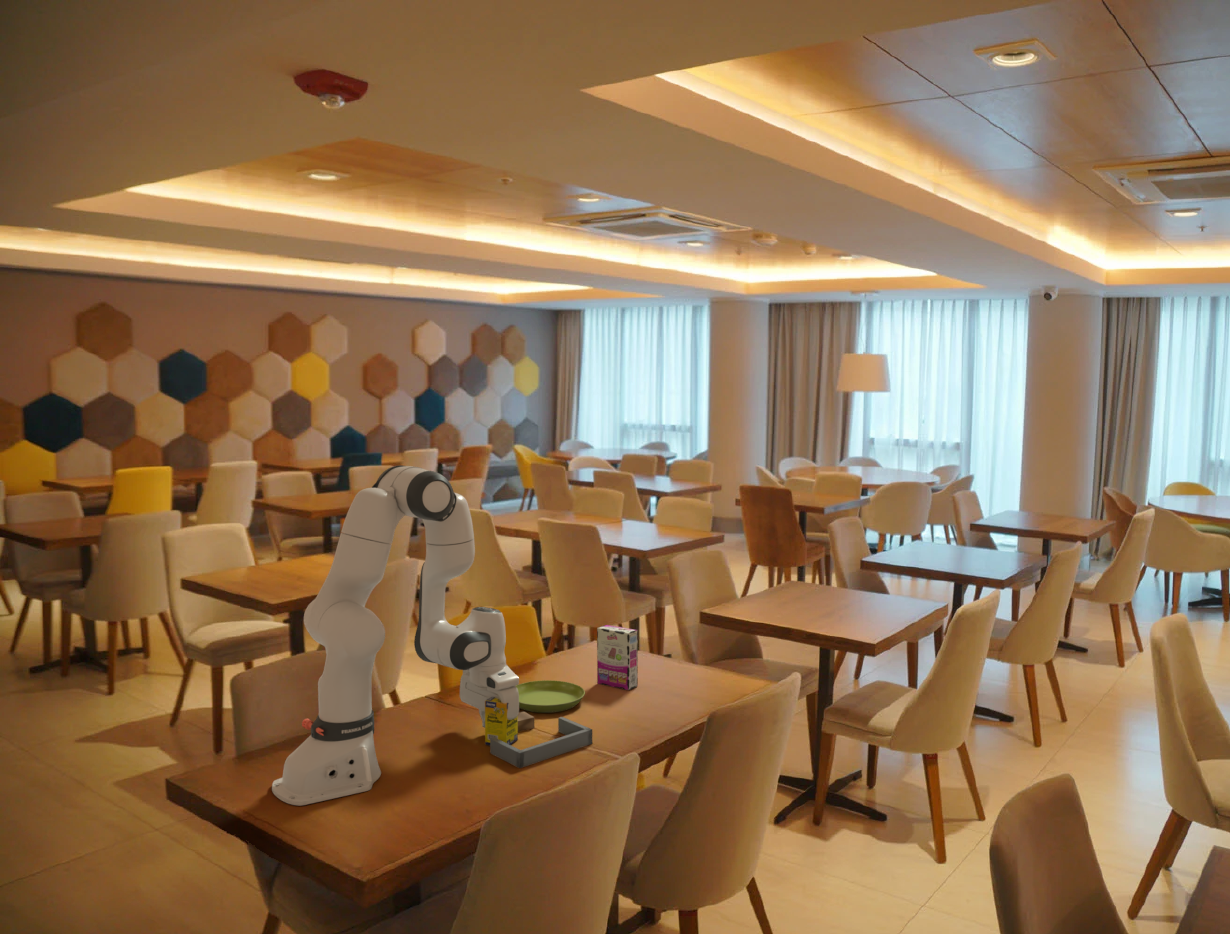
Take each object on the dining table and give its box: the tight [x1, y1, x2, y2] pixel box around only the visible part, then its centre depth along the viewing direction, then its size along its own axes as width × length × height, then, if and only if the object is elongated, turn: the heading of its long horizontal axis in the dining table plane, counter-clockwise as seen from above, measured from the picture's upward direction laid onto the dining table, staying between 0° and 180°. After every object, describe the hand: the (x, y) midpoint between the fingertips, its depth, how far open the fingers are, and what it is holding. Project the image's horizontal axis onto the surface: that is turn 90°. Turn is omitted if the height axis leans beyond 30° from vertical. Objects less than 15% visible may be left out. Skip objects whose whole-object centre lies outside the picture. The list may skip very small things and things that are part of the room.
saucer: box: [516, 679, 586, 714], centre depth 252 cm, size 21×21×3 cm
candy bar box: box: [596, 624, 639, 691], centre depth 266 cm, size 11×5×16 cm, turn 55°
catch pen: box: [489, 716, 593, 769], centre depth 220 cm, size 21×11×4 cm, turn 132°
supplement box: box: [484, 697, 519, 747], centre depth 223 cm, size 6×6×11 cm
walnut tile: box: [518, 711, 535, 733], centre depth 233 cm, size 5×5×3 cm
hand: (488, 728), depth 228 cm, fingers closed
